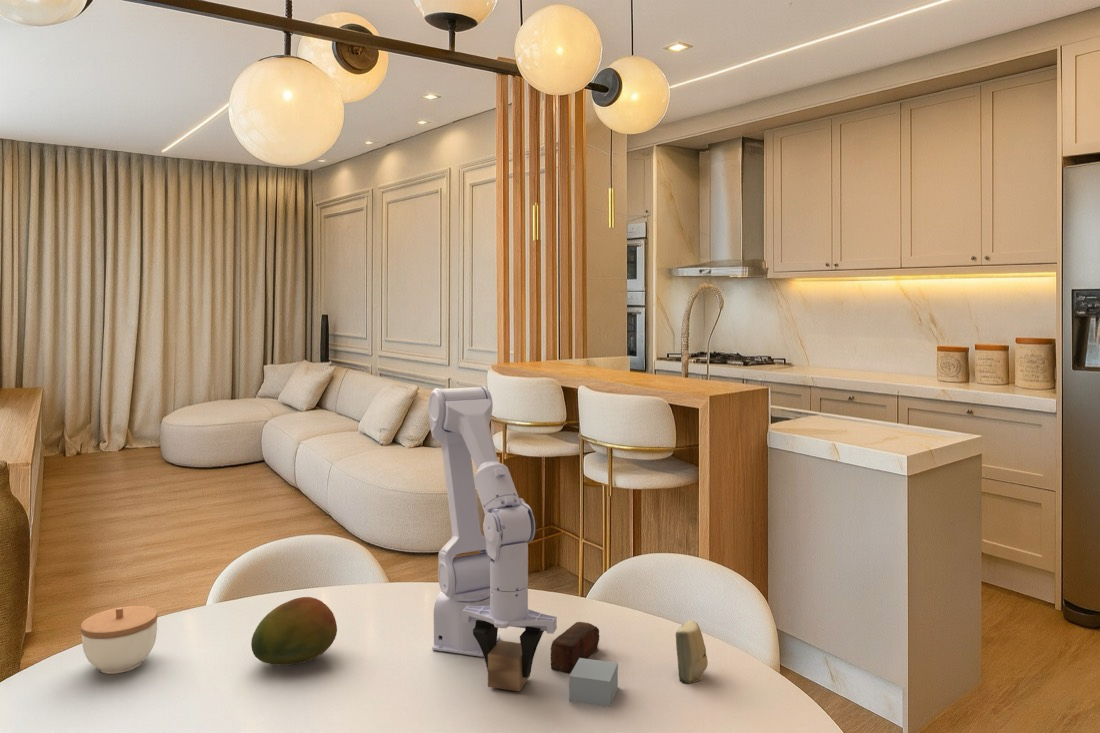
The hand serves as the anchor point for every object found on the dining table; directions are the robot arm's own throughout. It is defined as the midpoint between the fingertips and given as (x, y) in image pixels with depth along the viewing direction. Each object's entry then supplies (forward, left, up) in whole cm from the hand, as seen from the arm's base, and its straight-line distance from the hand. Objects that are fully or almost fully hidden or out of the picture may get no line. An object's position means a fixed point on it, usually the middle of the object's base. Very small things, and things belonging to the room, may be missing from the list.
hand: (509, 672), depth 114 cm
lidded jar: (-62, -12, -2) cm, 63 cm away
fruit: (-36, -3, -2) cm, 36 cm away
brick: (+8, +11, -2) cm, 14 cm away
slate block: (+13, +1, -2) cm, 13 cm away
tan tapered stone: (+26, +11, -2) cm, 28 cm away
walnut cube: (0, 0, -1) cm, 1 cm away
